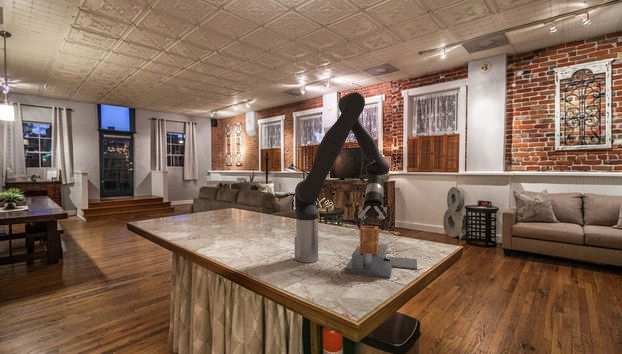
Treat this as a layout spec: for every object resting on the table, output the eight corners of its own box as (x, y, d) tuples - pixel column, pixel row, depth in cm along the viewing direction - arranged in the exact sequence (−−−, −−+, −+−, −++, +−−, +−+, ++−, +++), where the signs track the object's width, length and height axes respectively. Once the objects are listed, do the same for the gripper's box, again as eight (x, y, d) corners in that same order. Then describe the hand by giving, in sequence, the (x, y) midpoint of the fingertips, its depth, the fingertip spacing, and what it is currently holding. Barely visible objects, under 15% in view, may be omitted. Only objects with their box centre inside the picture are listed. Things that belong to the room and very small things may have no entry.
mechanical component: (369, 254, 130) (392, 255, 128) (369, 244, 130) (392, 245, 128) (369, 248, 140) (390, 249, 138) (369, 239, 140) (390, 240, 138)
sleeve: (360, 253, 107) (360, 228, 106) (362, 248, 112) (362, 225, 112) (376, 254, 105) (376, 229, 105) (378, 250, 110) (378, 226, 110)
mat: (384, 266, 113) (384, 265, 113) (386, 257, 124) (386, 256, 124) (417, 269, 109) (417, 268, 109) (416, 260, 120) (416, 258, 120)
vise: (345, 273, 106) (344, 234, 105) (351, 263, 117) (351, 228, 117) (390, 278, 100) (390, 237, 100) (392, 267, 112) (392, 231, 111)
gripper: (356, 190, 122) (351, 222, 111) (391, 190, 117) (389, 223, 107) (358, 201, 127) (353, 232, 117) (392, 202, 123) (390, 235, 112)
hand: (370, 228), depth 112 cm, fingers open, 8 cm apart
